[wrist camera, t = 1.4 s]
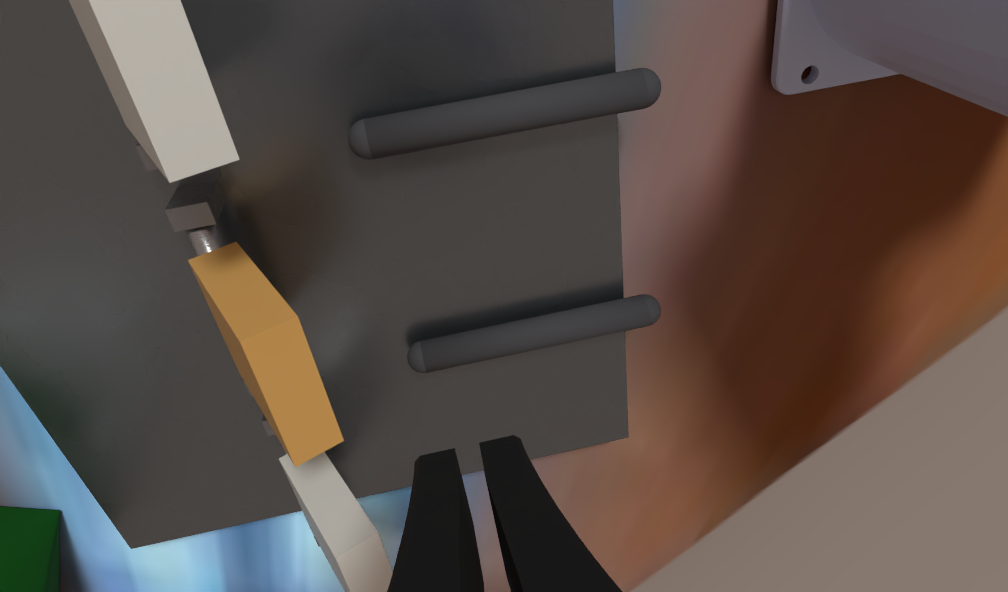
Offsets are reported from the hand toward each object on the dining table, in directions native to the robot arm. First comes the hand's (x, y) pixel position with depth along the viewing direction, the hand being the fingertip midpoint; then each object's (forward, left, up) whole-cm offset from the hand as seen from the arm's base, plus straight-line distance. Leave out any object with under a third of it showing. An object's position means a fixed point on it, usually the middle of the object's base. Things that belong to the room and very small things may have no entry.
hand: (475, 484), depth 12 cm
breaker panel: (+4, 0, -10) cm, 11 cm away
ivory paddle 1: (+6, -7, -8) cm, 12 cm away
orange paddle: (+6, 0, -8) cm, 10 cm away
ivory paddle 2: (+6, +7, -8) cm, 12 cm away
